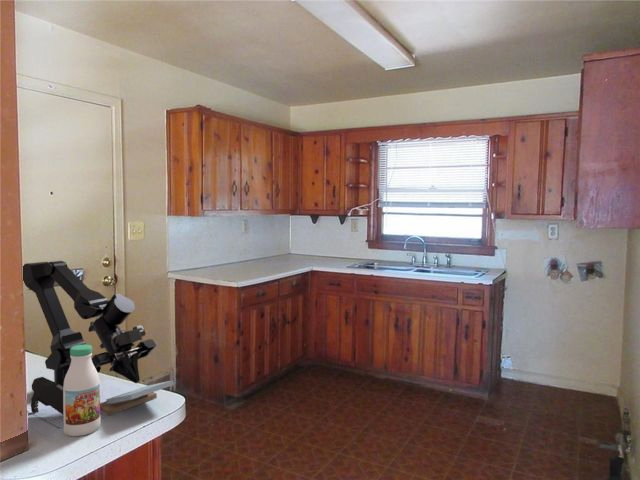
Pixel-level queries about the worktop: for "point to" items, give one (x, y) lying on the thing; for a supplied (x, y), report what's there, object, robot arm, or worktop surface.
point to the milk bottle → (81, 393)
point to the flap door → (139, 392)
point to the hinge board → (125, 404)
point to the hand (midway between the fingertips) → (137, 382)
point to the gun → (47, 394)
